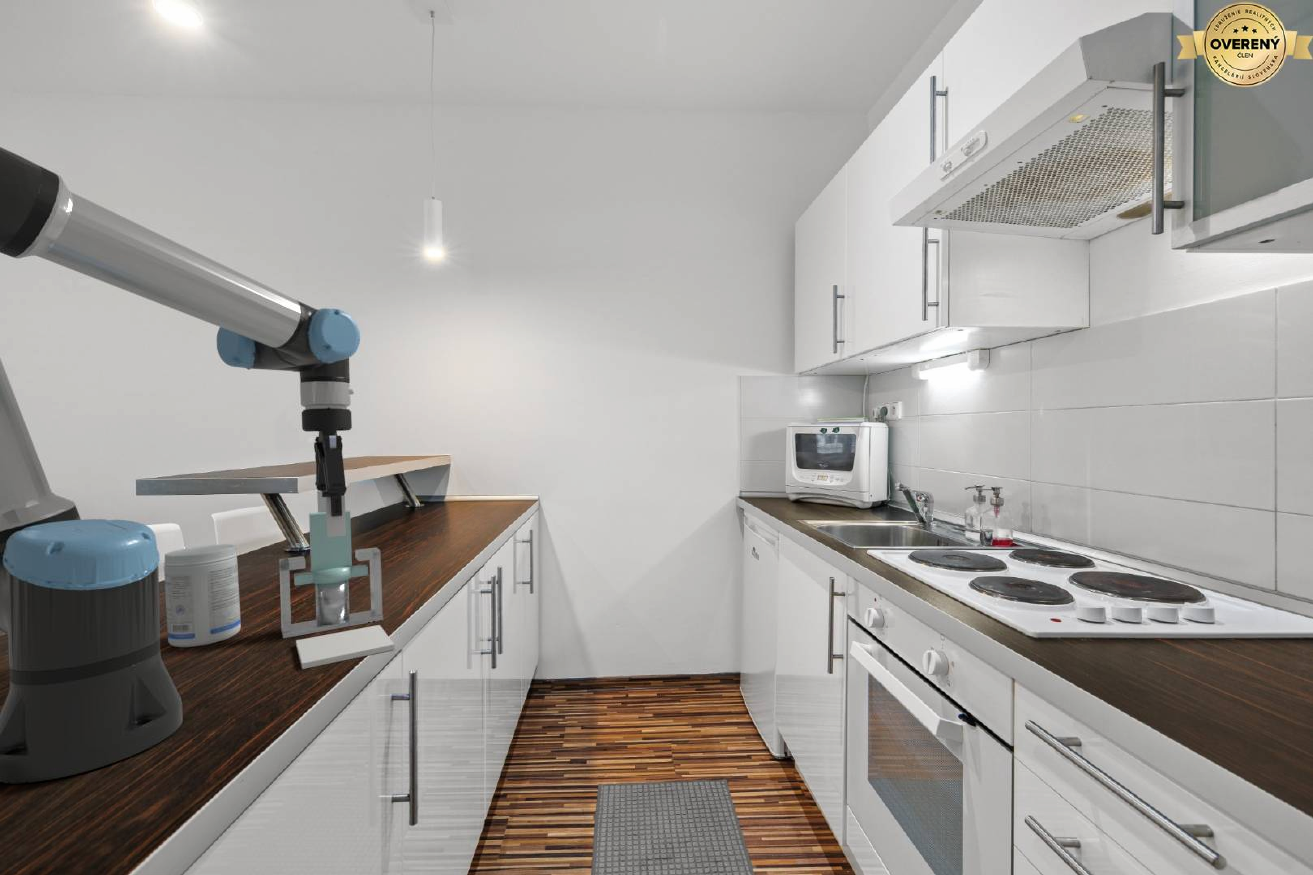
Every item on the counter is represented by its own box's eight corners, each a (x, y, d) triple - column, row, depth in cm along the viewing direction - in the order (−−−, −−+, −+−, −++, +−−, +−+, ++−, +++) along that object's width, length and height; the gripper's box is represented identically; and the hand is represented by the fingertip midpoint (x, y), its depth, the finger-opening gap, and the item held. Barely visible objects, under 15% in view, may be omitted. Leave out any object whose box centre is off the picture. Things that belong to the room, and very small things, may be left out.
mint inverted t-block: (296, 587, 98) (293, 517, 97) (293, 580, 103) (291, 513, 103) (369, 577, 104) (367, 510, 104) (363, 570, 109) (361, 507, 109)
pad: (302, 669, 83) (302, 663, 83) (296, 645, 93) (296, 640, 93) (394, 649, 90) (394, 644, 90) (379, 629, 100) (379, 624, 100)
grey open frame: (283, 638, 97) (280, 563, 97) (281, 630, 101) (279, 558, 101) (383, 619, 106) (380, 550, 105) (377, 613, 110) (375, 546, 110)
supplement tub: (238, 625, 105) (235, 541, 105) (243, 638, 97) (240, 548, 97) (166, 638, 99) (163, 549, 99) (166, 654, 91) (163, 557, 91)
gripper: (362, 404, 95) (367, 537, 95) (341, 411, 116) (346, 520, 116) (307, 404, 91) (313, 543, 91) (296, 411, 111) (301, 525, 112)
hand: (331, 531), depth 103 cm, fingers open, 13 cm apart
